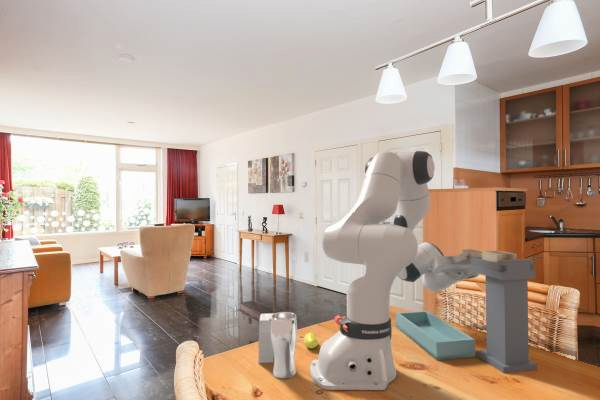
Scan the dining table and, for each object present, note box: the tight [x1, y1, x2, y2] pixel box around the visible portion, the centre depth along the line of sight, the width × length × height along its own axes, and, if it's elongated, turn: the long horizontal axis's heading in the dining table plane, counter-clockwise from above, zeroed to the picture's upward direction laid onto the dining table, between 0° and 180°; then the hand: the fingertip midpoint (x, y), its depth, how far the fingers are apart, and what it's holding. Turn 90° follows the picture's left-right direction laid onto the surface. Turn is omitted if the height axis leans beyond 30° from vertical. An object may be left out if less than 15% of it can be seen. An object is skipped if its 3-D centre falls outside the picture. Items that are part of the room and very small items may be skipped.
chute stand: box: [469, 258, 538, 374], centre depth 95 cm, size 10×13×29 cm
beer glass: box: [271, 311, 298, 380], centre depth 88 cm, size 7×7×15 cm
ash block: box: [462, 249, 517, 264], centre depth 101 cm, size 6×17×4 cm, turn 9°
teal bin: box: [395, 310, 476, 361], centre depth 109 cm, size 12×26×5 cm, turn 9°
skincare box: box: [258, 312, 275, 364], centre depth 97 cm, size 6×4×12 cm
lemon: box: [303, 331, 319, 349], centre depth 105 cm, size 4×8×4 cm, turn 1°
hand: (474, 254), depth 105 cm, fingers open, 4 cm apart
